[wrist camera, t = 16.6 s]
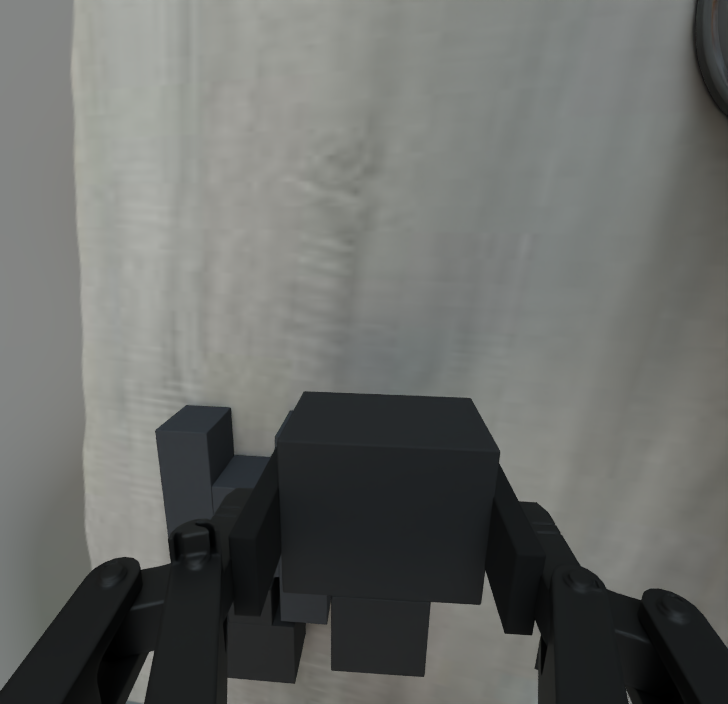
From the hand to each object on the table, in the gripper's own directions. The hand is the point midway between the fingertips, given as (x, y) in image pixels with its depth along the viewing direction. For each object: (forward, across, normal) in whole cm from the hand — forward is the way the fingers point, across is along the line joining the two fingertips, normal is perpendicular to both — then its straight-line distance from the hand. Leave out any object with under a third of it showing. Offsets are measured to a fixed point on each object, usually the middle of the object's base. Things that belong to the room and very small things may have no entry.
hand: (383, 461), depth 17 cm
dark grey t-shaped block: (0, 0, -2) cm, 2 cm away
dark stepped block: (+13, -10, -21) cm, 27 cm away
